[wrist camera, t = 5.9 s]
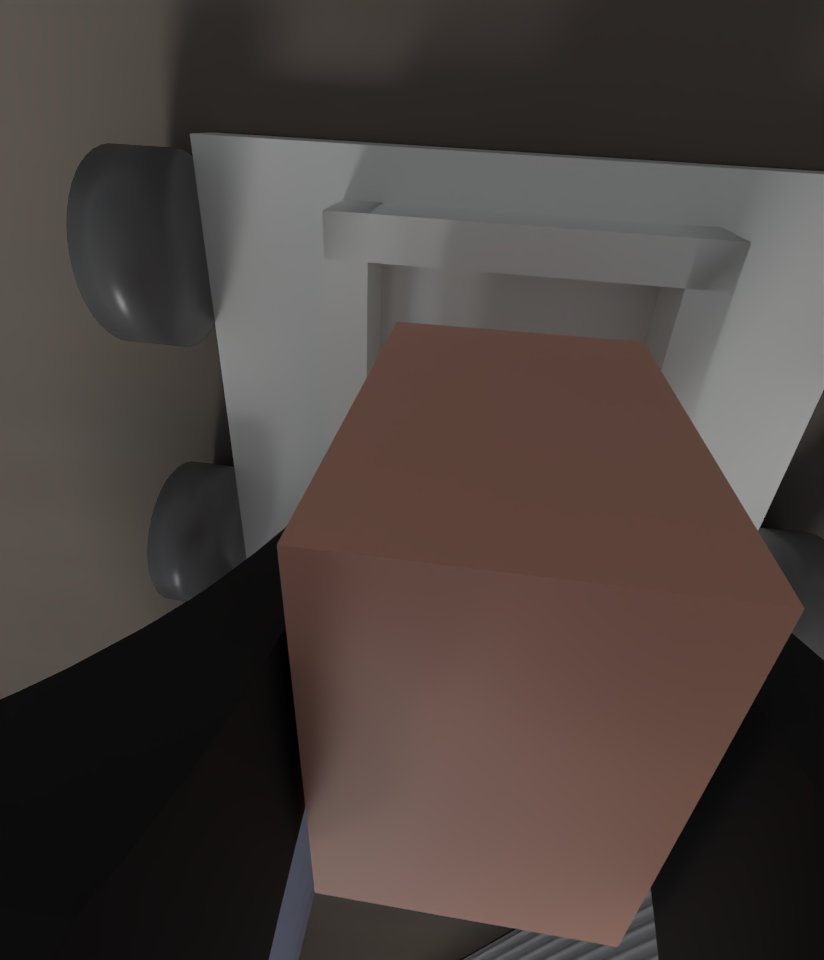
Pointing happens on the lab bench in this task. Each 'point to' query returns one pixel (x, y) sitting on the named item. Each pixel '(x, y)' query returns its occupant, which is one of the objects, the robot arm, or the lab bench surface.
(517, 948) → the aluminum extrusion profile
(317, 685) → the terracotta rectangular block
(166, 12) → the lab bench surface
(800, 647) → the robot arm
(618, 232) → the chassis
